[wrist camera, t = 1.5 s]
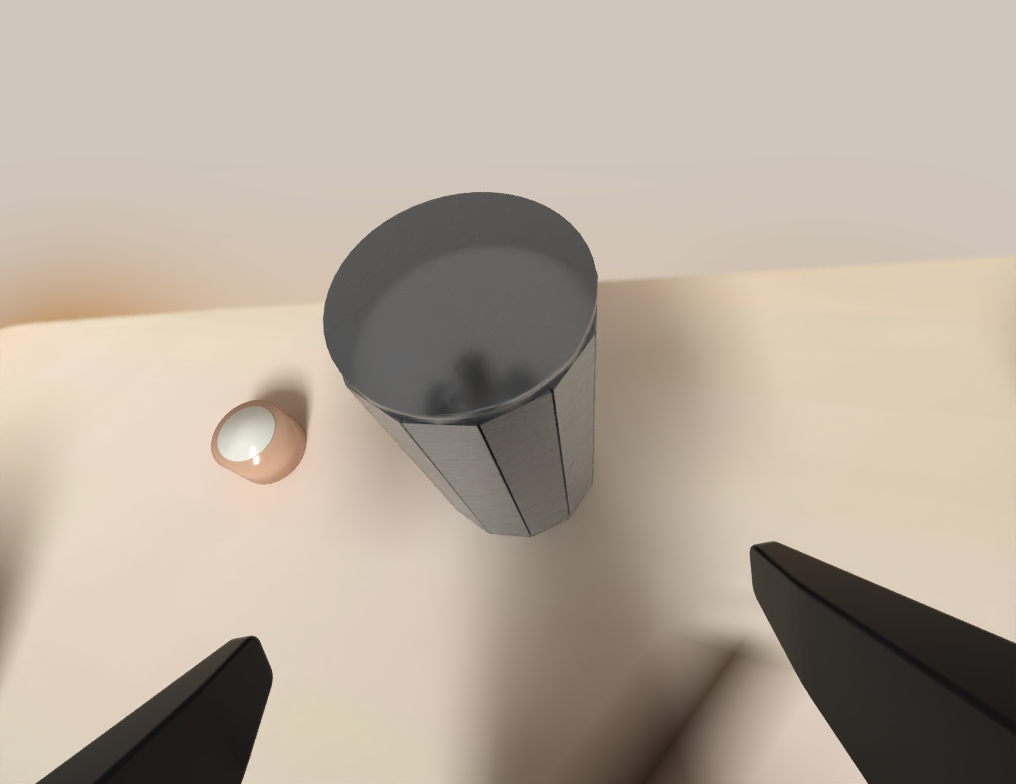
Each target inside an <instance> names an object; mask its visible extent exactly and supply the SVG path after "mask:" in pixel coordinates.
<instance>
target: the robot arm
mask: <svg viewBox="0 0 1016 784" xmlns="http://www.w3.org/2000/svg"><path fill="white" fill-rule="evenodd" d="M750 563H751V574H752V585H753V590H754V593H755V596H756V598H757V600H758V602H759V604H760V606H761V608H762V610H763V612H764V614H765V616H766V617H767V619H768V621H769V623H770V625H771V627H772V629H773V631H774V632H775V634H776V636H777V638H778V640H779V642H780V644H781V646H782V647H783V649H784V651H785V653H786V655H787V657H788V659H789V661H790V663H791V664H792V666H793V668H794V670H795V672H796V674H797V675H798V677H799V679H800V681H801V683H802V684H803V686H804V688H805V689H806V691H807V692H808V694H809V695H810V697H811V699H812V700H813V702H814V703H815V705H816V706H817V708H818V709H819V711H820V712H821V714H822V715H823V717H824V718H825V720H826V721H827V723H828V724H829V726H830V727H831V729H832V730H833V732H834V733H835V735H836V736H837V738H838V739H839V741H840V742H841V744H842V745H843V747H844V748H845V750H846V751H847V753H848V754H849V756H850V757H851V759H852V760H853V762H854V763H855V765H856V766H857V768H858V769H859V771H860V772H861V774H862V775H863V777H864V778H865V780H866V781H867V783H868V784H1016V643H1014V642H1012V641H1009V640H1007V639H1004V638H1002V637H1000V636H997V635H995V634H993V633H990V632H988V631H986V630H983V629H981V628H979V627H976V626H974V625H972V624H969V623H967V622H964V621H962V620H960V619H957V618H955V617H953V616H950V615H948V614H946V613H943V612H941V611H939V610H936V609H934V608H931V607H929V606H927V605H924V604H922V603H920V602H917V601H915V600H913V599H910V598H908V597H906V596H903V595H901V594H899V593H896V592H894V591H891V590H889V589H887V588H884V587H882V586H880V585H877V584H875V583H873V582H870V581H868V580H866V579H863V578H861V577H858V576H856V575H854V574H851V573H849V572H847V571H844V570H842V569H840V568H837V567H835V566H833V565H830V564H828V563H825V562H823V561H821V560H818V559H816V558H814V557H811V556H809V555H807V554H804V553H802V552H800V551H797V550H795V549H793V548H790V547H788V546H785V545H783V544H781V543H778V542H775V541H771V542H766V543H760V544H755V545H753V546H752V547H751V548H750ZM272 680H273V674H272V669H271V667H270V664H269V662H268V659H267V657H266V655H265V652H264V650H263V647H262V645H261V643H260V641H259V639H258V638H257V637H255V636H247V637H241V638H236V639H233V640H230V641H229V642H227V643H226V644H225V645H223V646H222V647H221V648H219V649H218V650H216V651H215V652H214V653H212V654H211V655H210V656H208V657H207V658H206V659H204V660H203V661H202V662H200V663H199V664H197V665H196V666H195V667H193V668H192V669H191V670H189V671H188V672H187V673H185V674H184V675H183V676H181V677H180V678H178V679H177V680H176V681H174V682H173V683H172V684H170V685H169V686H168V687H166V688H165V689H163V690H162V691H161V692H159V693H158V694H157V695H155V696H154V697H153V698H151V699H150V700H149V701H147V702H146V703H144V704H143V705H142V706H140V707H139V708H138V709H136V710H135V711H134V712H132V713H131V714H129V715H128V716H127V717H125V718H124V719H123V720H121V721H120V722H119V723H117V724H116V725H115V726H113V727H112V728H110V729H109V730H108V731H106V732H105V733H104V734H102V735H101V736H100V737H98V738H97V739H96V740H94V741H93V742H91V743H90V744H89V745H87V746H86V747H85V748H83V749H82V750H81V751H79V752H78V753H76V754H75V755H74V756H72V757H71V758H70V759H68V760H67V761H66V762H64V763H63V764H62V765H60V766H59V767H57V768H56V769H55V770H53V771H52V772H51V773H49V774H48V775H47V776H45V777H44V778H43V779H41V780H40V781H38V782H37V783H36V784H241V783H242V780H243V777H244V774H245V771H246V768H247V765H248V762H249V759H250V756H251V752H252V749H253V746H254V742H255V739H256V736H257V733H258V729H259V726H260V723H261V719H262V716H263V713H264V709H265V706H266V703H267V700H268V696H269V693H270V690H271V686H272Z"/></svg>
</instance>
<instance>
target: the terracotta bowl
mask: <svg viewBox="0 0 1016 784" xmlns="http://www.w3.org/2000/svg"><path fill="white" fill-rule="evenodd" d="M305 449H306V435H305V432H304V430H303V429H302V427H301V426H300V425H299V424H298V423H296V422H295V421H294V420H293V419H291V418H290V417H289V416H288V415H287V414H285V413H284V412H283V411H282V410H280V409H279V408H278V407H277V406H275V405H274V404H272V403H270V402H268V401H263V400H254V401H249V402H246V403H243V404H241V405H239V406H237V407H236V408H234V409H233V410H231V411H230V412H229V413H228V414H227V415H225V417H224V418H223V419H222V420H221V421H220V423H219V424H218V426H217V427H216V429H215V431H214V434H213V437H212V442H211V450H212V455H213V457H214V459H215V460H216V462H217V463H218V464H219V465H221V466H222V467H224V468H226V469H228V470H230V471H232V472H234V473H236V474H238V475H240V476H242V477H243V478H245V479H247V480H249V481H251V482H253V483H256V484H270V483H274V482H277V481H279V480H281V479H283V478H285V477H286V476H288V475H289V474H290V473H291V472H292V471H293V470H294V469H295V468H296V467H297V466H298V464H299V463H300V461H301V459H302V458H303V455H304V453H305Z"/></svg>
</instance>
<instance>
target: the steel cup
mask: <svg viewBox="0 0 1016 784" xmlns="http://www.w3.org/2000/svg"><path fill="white" fill-rule="evenodd" d="M597 279H598V274H597V272H596V269H595V265H594V260H593V257H592V255H591V252H590V250H589V248H588V246H587V244H586V242H585V241H584V239H583V238H582V236H581V235H580V233H579V232H578V231H577V230H576V229H575V228H574V227H573V226H572V224H571V223H569V222H568V221H567V220H566V219H565V218H563V217H562V216H561V215H560V214H558V213H556V212H555V211H553V210H551V209H550V208H548V207H546V206H544V205H542V204H539V203H537V202H535V201H532V200H529V199H526V198H523V197H519V196H514V195H509V194H503V193H492V192H473V193H462V194H456V195H450V196H445V197H441V198H437V199H433V200H430V201H427V202H424V203H422V204H419V205H416V206H414V207H411V208H409V209H407V210H405V211H403V212H401V213H399V214H397V215H396V216H394V217H392V218H390V219H389V220H387V221H385V222H384V223H383V224H381V225H380V226H378V227H377V228H376V229H375V230H373V231H372V232H371V233H370V234H368V235H367V236H366V237H365V238H364V239H363V240H362V241H361V242H360V243H359V244H358V245H357V246H356V247H355V248H354V249H353V250H352V251H351V252H350V254H349V255H348V256H347V258H346V259H345V260H344V262H343V263H342V264H341V266H340V268H339V270H338V272H337V273H336V275H335V276H334V279H333V281H332V284H331V286H330V288H329V291H328V294H327V298H326V302H325V307H324V316H323V324H324V335H325V340H326V345H327V348H328V350H329V353H330V355H331V358H332V360H333V361H334V363H335V365H336V366H337V368H338V369H339V371H340V372H341V374H342V376H343V379H344V382H345V385H346V386H347V388H348V389H349V390H350V391H351V392H352V393H353V394H354V395H355V397H356V398H357V399H358V400H359V401H360V402H361V403H362V404H363V406H364V407H365V408H366V409H367V410H368V411H369V412H370V413H371V414H372V416H373V417H374V418H375V419H376V420H377V421H378V422H379V423H380V424H381V426H382V427H383V428H384V429H385V430H386V431H387V432H388V433H389V435H390V436H391V437H392V438H393V439H394V440H395V441H396V442H397V443H398V445H399V446H400V447H401V448H402V449H403V450H404V451H405V452H406V453H407V455H408V456H409V457H410V458H411V459H412V460H413V461H414V462H415V464H416V465H417V466H418V467H419V468H420V469H421V470H422V471H423V472H424V474H425V475H426V476H427V477H428V478H429V479H430V480H431V481H432V482H433V484H434V485H435V486H436V487H437V488H438V489H439V490H440V491H441V493H442V494H443V495H444V496H445V497H446V498H447V499H448V500H449V501H450V503H451V504H452V505H453V506H454V507H455V508H456V509H457V510H458V511H459V512H460V513H462V514H463V515H465V516H466V517H467V518H469V519H470V520H471V521H473V522H474V523H476V524H477V525H478V526H480V527H481V528H482V529H484V530H485V531H486V532H488V533H491V534H504V535H517V536H529V537H530V534H531V535H532V536H534V535H536V534H538V533H540V532H542V531H544V530H546V529H548V528H550V527H552V526H554V525H556V524H558V523H560V522H562V521H564V520H566V519H568V518H569V516H570V517H571V515H572V514H573V512H574V511H575V509H576V507H577V506H578V504H579V503H580V501H581V500H582V498H583V497H584V495H585V494H586V492H587V491H588V489H589V488H590V486H591V485H592V482H593V445H594V404H595V362H596V321H597Z"/></svg>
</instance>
